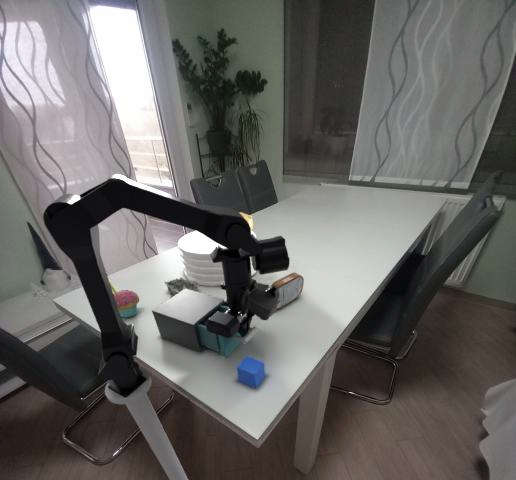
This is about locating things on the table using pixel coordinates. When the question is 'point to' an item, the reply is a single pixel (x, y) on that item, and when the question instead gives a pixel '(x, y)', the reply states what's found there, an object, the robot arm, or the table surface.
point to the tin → (289, 288)
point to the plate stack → (202, 259)
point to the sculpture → (248, 219)
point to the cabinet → (185, 317)
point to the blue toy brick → (251, 372)
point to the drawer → (219, 341)
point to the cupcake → (126, 302)
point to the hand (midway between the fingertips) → (244, 336)
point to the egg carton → (180, 285)
